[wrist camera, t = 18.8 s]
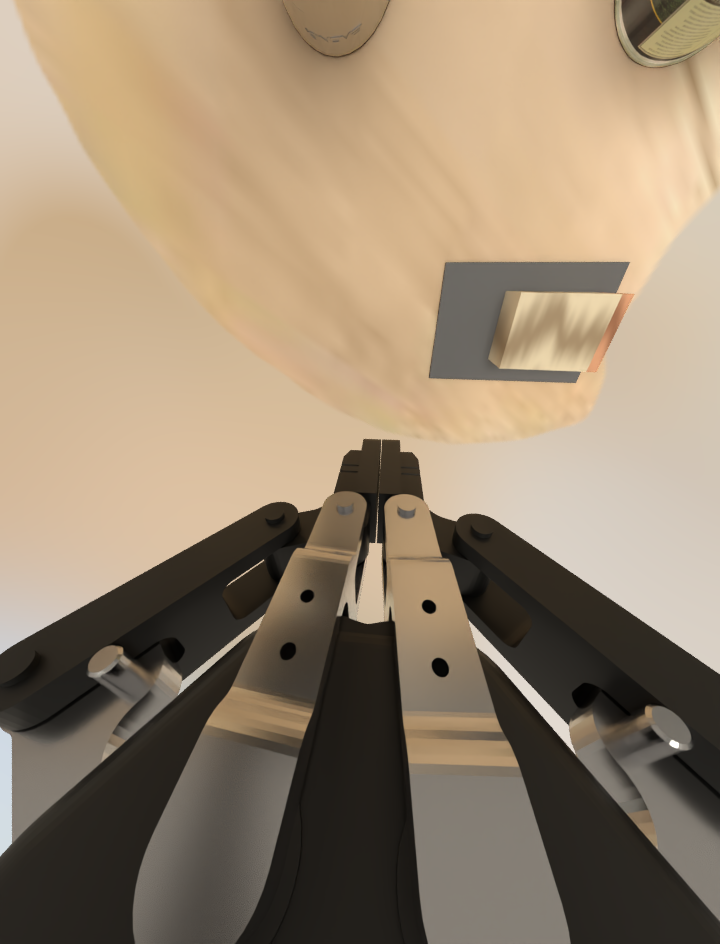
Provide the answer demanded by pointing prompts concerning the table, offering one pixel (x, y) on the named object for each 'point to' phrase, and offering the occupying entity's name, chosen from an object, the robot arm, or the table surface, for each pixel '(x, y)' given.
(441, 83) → the table surface
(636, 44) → the coffee can
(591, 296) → the block
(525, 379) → the mat
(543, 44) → the table surface
